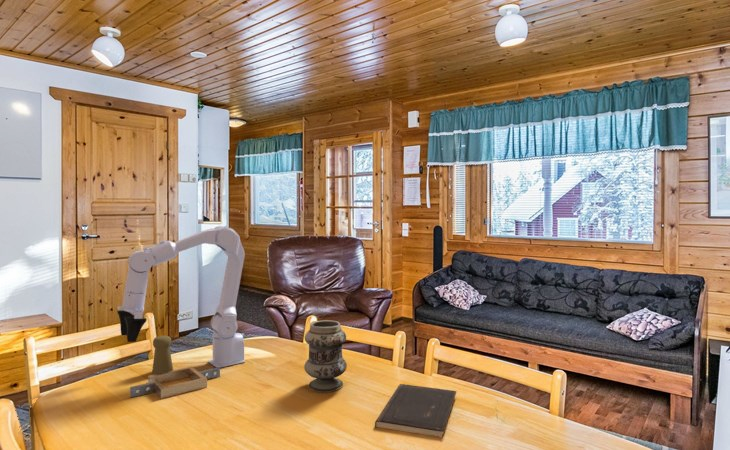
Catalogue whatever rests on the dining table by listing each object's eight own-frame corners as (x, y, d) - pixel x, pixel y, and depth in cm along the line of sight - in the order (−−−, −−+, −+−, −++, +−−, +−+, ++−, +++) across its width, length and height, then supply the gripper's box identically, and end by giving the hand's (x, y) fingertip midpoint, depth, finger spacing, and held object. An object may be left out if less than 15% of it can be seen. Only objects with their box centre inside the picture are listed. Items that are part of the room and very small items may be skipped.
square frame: (211, 370, 146) (211, 362, 146) (227, 382, 137) (227, 373, 136) (125, 389, 131) (124, 380, 131) (136, 404, 121) (136, 395, 121)
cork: (168, 375, 141) (167, 339, 141) (148, 375, 142) (147, 339, 141) (176, 368, 147) (176, 333, 147) (157, 368, 148) (156, 333, 147)
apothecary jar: (334, 374, 143) (334, 316, 142) (354, 388, 132) (354, 325, 132) (297, 383, 136) (297, 321, 135) (316, 397, 126) (315, 331, 125)
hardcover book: (456, 399, 127) (456, 390, 127) (443, 440, 105) (443, 430, 105) (398, 391, 132) (398, 383, 132) (374, 429, 110) (374, 419, 110)
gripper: (114, 287, 141) (107, 332, 141) (126, 296, 130) (118, 345, 129) (140, 288, 145) (133, 332, 145) (153, 296, 134) (146, 344, 134)
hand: (128, 338), depth 137 cm, fingers open, 7 cm apart
